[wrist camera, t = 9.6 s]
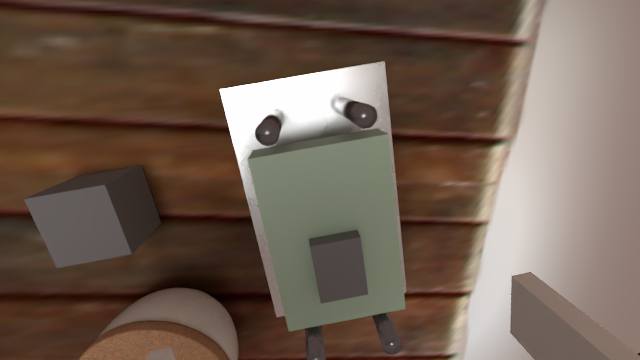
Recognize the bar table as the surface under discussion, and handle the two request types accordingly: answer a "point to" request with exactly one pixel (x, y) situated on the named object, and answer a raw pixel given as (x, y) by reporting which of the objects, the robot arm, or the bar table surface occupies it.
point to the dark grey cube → (95, 216)
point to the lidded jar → (168, 329)
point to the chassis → (301, 125)
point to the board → (331, 226)
